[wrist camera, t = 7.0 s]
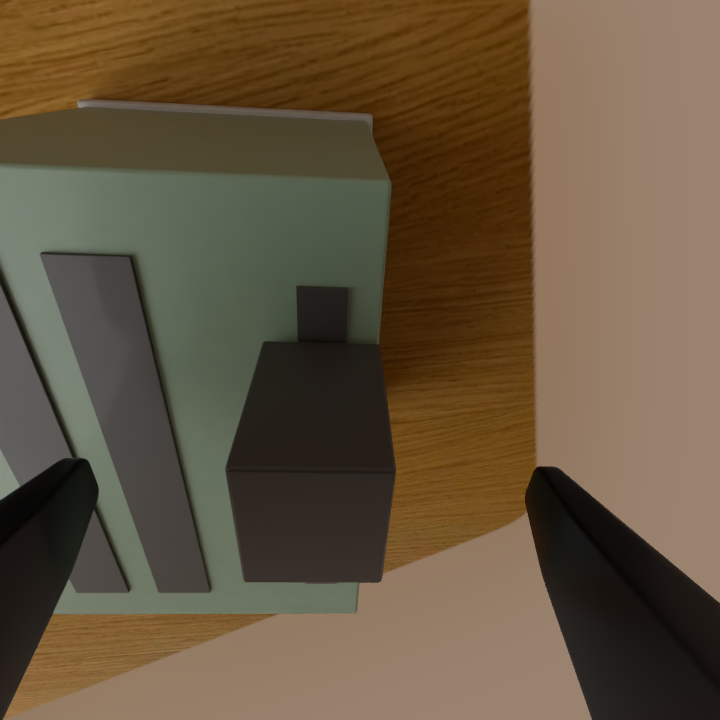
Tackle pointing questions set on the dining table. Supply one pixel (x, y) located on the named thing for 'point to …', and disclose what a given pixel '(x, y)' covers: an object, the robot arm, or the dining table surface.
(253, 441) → the slider
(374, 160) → the toaster
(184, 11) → the dining table surface
